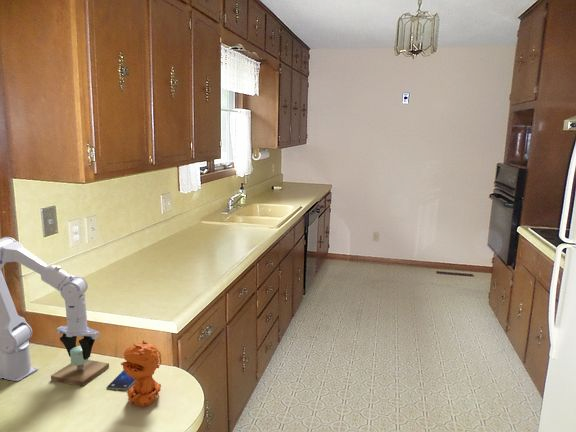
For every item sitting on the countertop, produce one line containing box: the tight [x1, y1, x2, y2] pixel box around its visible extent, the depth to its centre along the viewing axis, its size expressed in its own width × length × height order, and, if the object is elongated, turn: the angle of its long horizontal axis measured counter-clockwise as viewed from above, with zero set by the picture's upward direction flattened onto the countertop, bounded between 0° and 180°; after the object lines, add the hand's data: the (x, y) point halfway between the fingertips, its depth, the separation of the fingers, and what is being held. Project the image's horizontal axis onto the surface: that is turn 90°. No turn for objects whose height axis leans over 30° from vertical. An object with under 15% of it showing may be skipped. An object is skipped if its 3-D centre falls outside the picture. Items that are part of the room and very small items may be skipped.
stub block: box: [50, 359, 110, 387], centre depth 142 cm, size 12×12×4 cm
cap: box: [69, 345, 89, 366], centre depth 141 cm, size 5×5×4 cm
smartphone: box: [106, 369, 136, 392], centre depth 140 cm, size 7×1×15 cm
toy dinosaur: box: [120, 340, 162, 407], centre depth 126 cm, size 11×11×18 cm
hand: (79, 356), depth 141 cm, fingers closed on cap, 5 cm apart
